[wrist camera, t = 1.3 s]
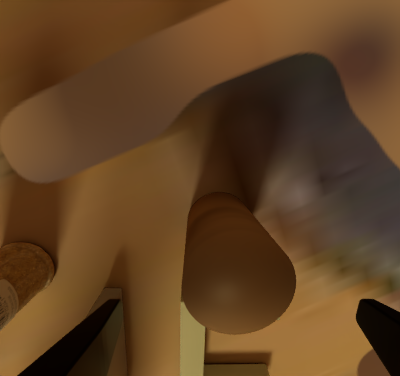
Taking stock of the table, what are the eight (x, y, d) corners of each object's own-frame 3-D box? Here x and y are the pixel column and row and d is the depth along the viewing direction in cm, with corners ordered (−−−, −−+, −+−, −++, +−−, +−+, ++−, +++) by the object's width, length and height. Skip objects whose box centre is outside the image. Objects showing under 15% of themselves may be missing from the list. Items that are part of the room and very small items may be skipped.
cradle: (263, 377, 18) (268, 393, 17) (180, 378, 18) (179, 394, 17) (275, 290, 16) (282, 302, 15) (181, 290, 16) (180, 302, 15)
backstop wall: (128, 386, 18) (113, 442, 15) (113, 386, 18) (95, 442, 15) (121, 288, 16) (101, 327, 12) (104, 288, 16) (79, 327, 12)
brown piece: (246, 250, 15) (288, 334, 9) (187, 249, 15) (181, 335, 8) (251, 192, 14) (303, 236, 7) (187, 191, 14) (182, 234, 7)
